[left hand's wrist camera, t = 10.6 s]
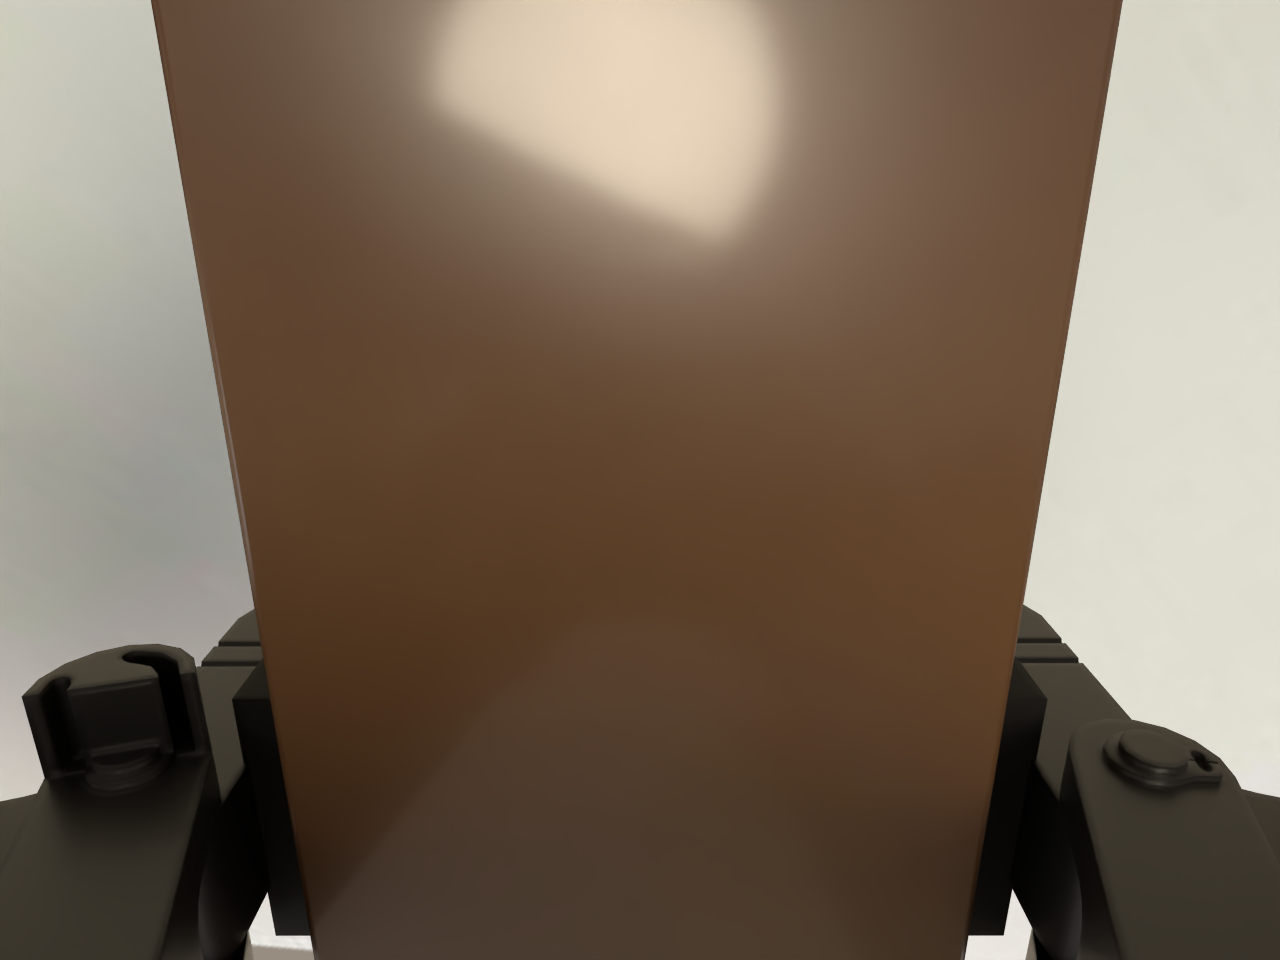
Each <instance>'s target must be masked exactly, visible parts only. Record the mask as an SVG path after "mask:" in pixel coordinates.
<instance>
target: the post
mask: <svg viewBox="0 0 1280 960" xmlns="http://www.w3.org/2000/svg"><path fill="white" fill-rule="evenodd" d="M1122 1H1123V0H151V3H152V9H153V15H154V21H155V27H156V32H157V38H158V44H159V50H160V56H161V62H162V68H163V73H164V79H165V85H166V91H167V97H168V103H169V109H170V115H171V120H172V126H173V132H174V138H175V144H176V150H177V156H178V161H179V167H180V173H181V179H182V185H183V191H184V197H185V203H186V208H187V214H188V220H189V226H190V232H191V238H192V244H193V249H194V255H195V261H196V267H197V273H198V279H199V285H200V291H201V296H202V302H203V308H204V314H205V320H206V326H207V332H208V337H209V343H210V349H211V355H212V361H213V367H214V373H215V379H216V384H217V390H218V396H219V402H220V408H221V414H222V420H223V425H224V431H225V437H226V443H227V449H228V455H229V461H230V467H231V472H232V478H233V484H234V490H235V496H236V502H237V508H238V513H239V519H240V525H241V531H242V537H243V543H244V549H245V555H246V560H247V566H248V572H249V578H250V584H251V590H252V596H253V601H254V607H255V613H256V619H257V625H258V631H259V637H260V643H261V648H262V654H263V660H264V666H265V672H266V678H267V684H268V689H269V695H270V701H271V707H272V713H273V719H274V725H275V731H276V736H277V742H278V748H279V754H280V760H281V766H282V772H283V777H284V783H285V789H286V795H287V801H288V807H289V813H290V819H291V824H292V830H293V836H294V842H295V848H296V854H297V860H298V865H299V871H300V877H301V883H302V889H303V895H304V901H305V907H306V912H307V918H308V924H309V930H310V936H311V942H312V948H313V953H314V959H315V960H964V959H965V953H966V947H967V941H968V935H969V929H970V923H971V917H972V911H973V905H974V899H975V893H976V887H977V881H978V874H979V868H980V862H981V856H982V850H983V844H984V838H985V832H986V826H987V820H988V814H989V808H990V802H991V796H992V790H993V784H994V777H995V771H996V765H997V759H998V753H999V747H1000V741H1001V735H1002V729H1003V723H1004V717H1005V711H1006V705H1007V699H1008V693H1009V687H1010V680H1011V674H1012V668H1013V662H1014V656H1015V650H1016V644H1017V638H1018V632H1019V626H1020V620H1021V614H1022V608H1023V602H1024V596H1025V590H1026V583H1027V577H1028V571H1029V565H1030V559H1031V553H1032V547H1033V541H1034V535H1035V529H1036V523H1037V517H1038V511H1039V505H1040V499H1041V493H1042V486H1043V480H1044V474H1045V468H1046V462H1047V456H1048V450H1049V444H1050V438H1051V432H1052V426H1053V420H1054V414H1055V408H1056V402H1057V396H1058V389H1059V383H1060V377H1061V371H1062V365H1063V359H1064V353H1065V347H1066V341H1067V335H1068V329H1069V323H1070V317H1071V311H1072V305H1073V299H1074V292H1075V286H1076V280H1077V274H1078V268H1079V262H1080V256H1081V250H1082V244H1083V238H1084V232H1085V226H1086V220H1087V214H1088V208H1089V202H1090V195H1091V189H1092V183H1093V177H1094V171H1095V165H1096V159H1097V153H1098V147H1099V141H1100V135H1101V129H1102V123H1103V117H1104V111H1105V105H1106V98H1107V92H1108V86H1109V80H1110V74H1111V68H1112V62H1113V56H1114V50H1115V44H1116V38H1117V32H1118V26H1119V20H1120V14H1121V8H1122Z"/></svg>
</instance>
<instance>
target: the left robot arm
mask: <svg viewBox="0 0 1280 960" xmlns="http://www.w3.org/2000/svg"><path fill="white" fill-rule="evenodd" d="M22 699H23V703H24V706H25V710H26V714H27V717H28V721H29V724H30V728H31V731H32V735H33V738H34V742H35V745H36V749H37V752H38V756H39V759H40V763H41V767H42V770H43V774H44V777H45V779H44V781H43V783H42V785H41V787H40V789H39V791H38V793H37V794H33V795H29V796H25V797H21V798H16V799H11V800H6V801H1V802H0V960H254V958H253V951H252V945H251V940H250V935H249V928H250V926H251V924H252V922H253V920H254V918H255V916H256V914H257V912H258V910H259V908H260V906H261V904H262V902H263V900H264V898H265V896H266V894H267V892H268V896H269V901H270V907H271V912H272V917H273V923H274V928H275V933H276V936H310V930H309V924H308V918H307V912H306V907H305V901H304V895H303V889H302V883H301V877H300V871H299V865H298V860H297V854H296V848H295V842H294V836H293V830H292V824H291V819H290V813H289V807H288V801H287V795H286V789H285V783H284V777H283V772H282V766H281V760H280V754H279V748H278V742H277V736H276V731H275V725H274V719H273V713H272V707H271V701H270V695H269V689H268V684H267V678H266V672H265V666H264V660H263V654H262V648H261V643H260V637H259V631H258V625H257V619H256V613H255V609H254V610H252V611H250V612H249V613H247V614H245V615H244V616H242V617H240V618H239V619H238V620H237V621H236V622H235V623H234V625H233V626H232V627H231V628H230V629H229V630H228V631H227V633H226V634H225V635H224V636H223V637H222V638H221V640H220V641H219V645H218V647H214V648H213V649H212V650H211V651H210V652H209V654H208V655H207V656H206V657H205V658H204V659H203V661H202V665H201V667H196V666H195V661H194V658H193V657H192V656H190V655H189V654H188V653H186V652H185V651H184V650H182V649H181V648H176V647H171V646H166V645H161V644H146V645H128V646H123V647H118V648H114V649H109V650H104V651H99V652H95V653H93V654H90V655H87V656H85V657H82V658H79V659H77V660H74V661H71V662H69V663H66V664H64V665H62V666H61V667H59V668H57V669H56V670H54V671H52V672H50V673H49V674H47V675H45V676H44V677H42V678H40V679H39V680H38V681H37V682H36V683H35V684H34V685H33V686H32V687H31V688H30V689H29V690H28V691H27V692H26V693H25V694H24V695H23V696H22ZM1012 889H1013V891H1014V893H1015V895H1016V897H1017V899H1018V900H1019V902H1020V904H1021V906H1022V908H1023V910H1024V912H1025V914H1026V916H1027V918H1028V920H1029V922H1030V924H1031V926H1032V930H1031V935H1030V940H1029V945H1028V950H1027V955H1026V960H1280V798H1279V797H1274V796H1269V795H1264V794H1259V793H1255V792H1251V791H1247V790H1244V789H1241V787H1240V785H1239V783H1238V781H1237V779H1236V777H1235V776H1234V775H1233V773H1232V772H1231V771H1230V770H1229V769H1228V767H1227V766H1226V765H1225V764H1224V762H1223V761H1222V760H1221V759H1220V758H1219V757H1218V756H1216V755H1215V754H1213V753H1212V752H1210V751H1209V750H1208V749H1206V748H1205V747H1203V746H1202V745H1200V744H1199V743H1197V742H1196V741H1194V740H1192V739H1190V738H1187V737H1185V736H1183V735H1180V734H1178V733H1176V732H1174V731H1171V730H1169V729H1167V728H1164V727H1160V726H1156V725H1152V724H1148V723H1144V722H1140V721H1136V720H1132V719H1131V718H1130V717H1129V716H1128V715H1127V714H1126V713H1125V711H1124V710H1123V709H1122V708H1121V707H1120V706H1119V704H1118V703H1117V702H1116V701H1115V700H1114V699H1113V698H1112V696H1111V695H1110V694H1109V693H1108V692H1107V691H1106V689H1105V688H1104V687H1103V686H1102V685H1101V684H1100V683H1099V681H1098V680H1097V679H1096V678H1095V677H1094V676H1093V674H1092V673H1091V672H1090V671H1089V670H1088V669H1087V668H1086V666H1085V665H1084V664H1083V663H1079V662H1078V657H1077V656H1076V655H1075V654H1074V653H1073V651H1072V650H1071V649H1070V648H1069V647H1068V646H1067V644H1066V643H1062V642H1061V638H1060V636H1059V635H1058V634H1057V633H1056V632H1055V631H1054V629H1053V628H1052V627H1051V626H1050V625H1049V624H1048V623H1047V621H1046V620H1045V619H1044V618H1043V617H1042V616H1041V615H1040V614H1038V613H1036V612H1035V611H1033V610H1031V609H1030V608H1028V607H1026V606H1025V605H1023V608H1022V614H1021V620H1020V626H1019V632H1018V638H1017V644H1016V650H1015V656H1014V662H1013V668H1012V674H1011V680H1010V687H1009V693H1008V699H1007V705H1006V711H1005V717H1004V723H1003V729H1002V735H1001V741H1000V747H999V753H998V759H997V765H996V771H995V777H994V784H993V790H992V796H991V802H990V808H989V814H988V820H987V826H986V832H985V838H984V844H983V850H982V856H981V862H980V868H979V874H978V881H977V887H976V893H975V899H974V905H973V911H972V917H971V923H970V929H969V935H1004V930H1005V925H1006V920H1007V914H1008V909H1009V903H1010V898H1011V893H1012Z"/></svg>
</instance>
